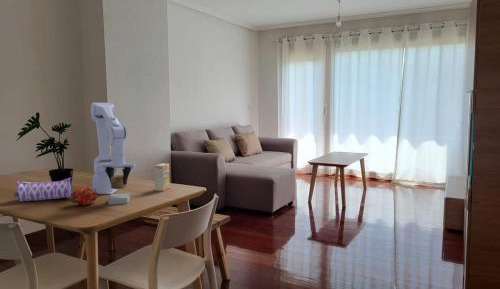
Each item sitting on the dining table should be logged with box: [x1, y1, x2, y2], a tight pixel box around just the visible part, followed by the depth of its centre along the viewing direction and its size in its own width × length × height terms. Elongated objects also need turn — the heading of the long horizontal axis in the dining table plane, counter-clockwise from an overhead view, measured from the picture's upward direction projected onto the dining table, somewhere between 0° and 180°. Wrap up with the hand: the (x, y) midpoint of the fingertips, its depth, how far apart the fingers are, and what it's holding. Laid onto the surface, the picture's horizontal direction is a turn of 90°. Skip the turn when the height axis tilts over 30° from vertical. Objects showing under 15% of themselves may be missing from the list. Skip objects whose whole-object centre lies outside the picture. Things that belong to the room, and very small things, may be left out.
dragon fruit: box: [69, 186, 100, 207], centre depth 160 cm, size 8×8×12 cm
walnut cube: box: [111, 174, 128, 190], centre depth 165 cm, size 5×5×5 cm
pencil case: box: [13, 177, 72, 203], centre depth 168 cm, size 22×9×10 cm, turn 111°
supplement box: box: [154, 163, 171, 192], centre depth 189 cm, size 8×5×13 cm, turn 169°
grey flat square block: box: [107, 193, 131, 205], centre depth 165 cm, size 8×8×3 cm
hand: (118, 184), depth 165 cm, fingers closed on walnut cube, 5 cm apart
